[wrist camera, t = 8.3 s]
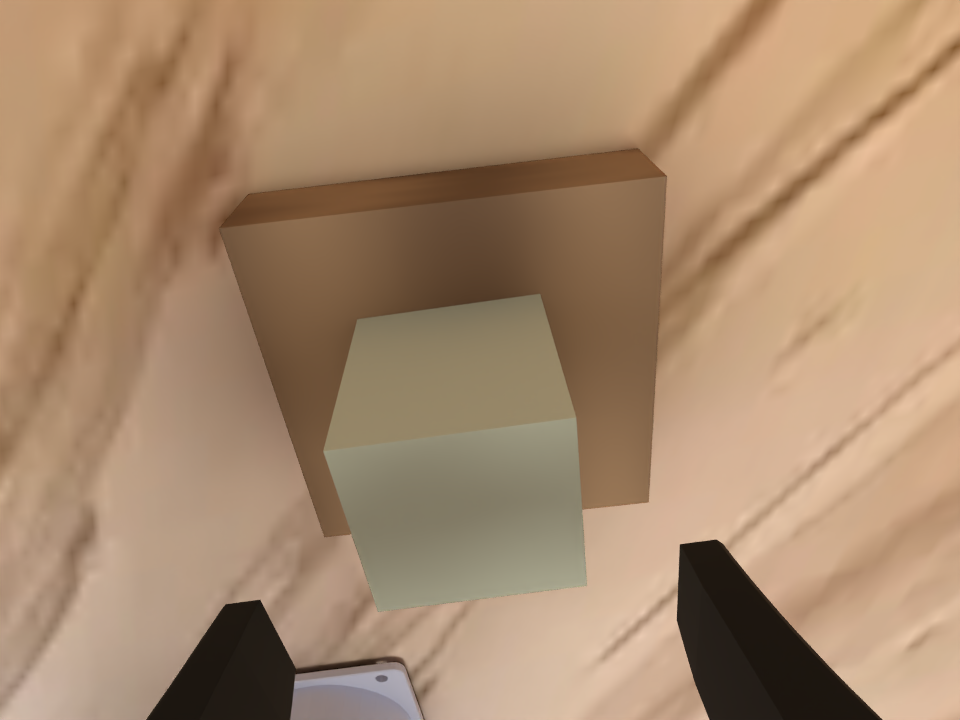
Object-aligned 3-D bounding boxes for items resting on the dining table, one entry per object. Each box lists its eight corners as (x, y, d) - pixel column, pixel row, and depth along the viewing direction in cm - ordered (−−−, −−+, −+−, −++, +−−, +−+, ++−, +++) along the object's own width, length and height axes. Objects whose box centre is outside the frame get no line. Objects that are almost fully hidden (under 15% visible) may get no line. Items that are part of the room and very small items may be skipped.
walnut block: (338, 470, 22) (324, 537, 19) (253, 188, 17) (219, 228, 14) (624, 439, 22) (648, 502, 19) (632, 143, 16) (666, 176, 14)
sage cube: (394, 458, 18) (378, 611, 13) (357, 319, 15) (323, 451, 11) (552, 437, 18) (586, 585, 13) (539, 294, 15) (576, 417, 11)
